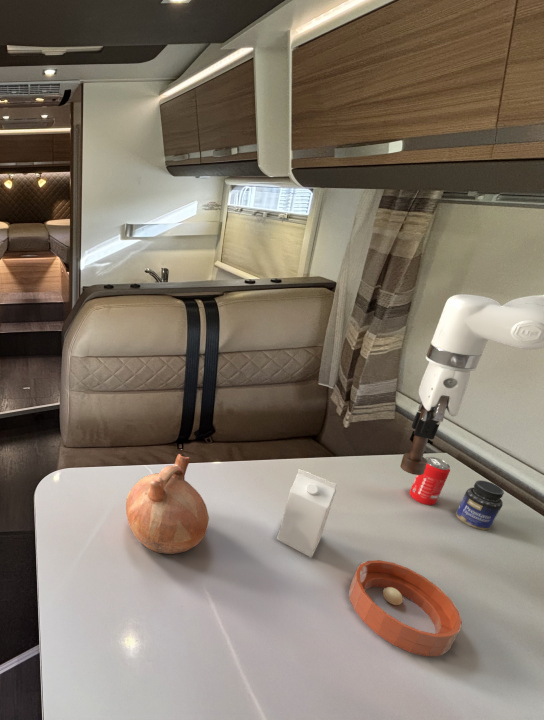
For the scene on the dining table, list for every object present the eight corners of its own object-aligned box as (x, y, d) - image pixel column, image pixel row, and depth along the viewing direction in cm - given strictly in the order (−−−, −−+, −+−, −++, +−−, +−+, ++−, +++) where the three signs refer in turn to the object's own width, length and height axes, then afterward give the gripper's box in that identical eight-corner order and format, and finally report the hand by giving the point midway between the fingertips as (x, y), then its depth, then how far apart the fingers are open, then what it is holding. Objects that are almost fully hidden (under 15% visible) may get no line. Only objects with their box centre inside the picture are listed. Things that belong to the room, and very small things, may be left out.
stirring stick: (424, 468, 95) (441, 409, 90) (423, 477, 92) (441, 417, 87) (400, 461, 98) (416, 404, 93) (399, 470, 95) (416, 412, 90)
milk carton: (285, 524, 103) (303, 461, 96) (319, 541, 98) (340, 476, 91) (275, 541, 99) (293, 476, 91) (310, 560, 94) (332, 493, 87)
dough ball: (381, 593, 86) (400, 598, 85) (383, 605, 84) (403, 610, 82) (382, 581, 85) (401, 586, 84) (384, 593, 83) (404, 598, 81)
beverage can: (416, 506, 108) (432, 468, 104) (403, 492, 113) (418, 455, 108) (439, 509, 107) (457, 470, 103) (425, 494, 112) (441, 457, 107)
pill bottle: (454, 523, 103) (471, 487, 99) (454, 509, 107) (470, 474, 103) (490, 537, 99) (509, 500, 95) (488, 522, 103) (507, 486, 99)
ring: (440, 605, 84) (451, 584, 82) (457, 677, 72) (471, 655, 70) (347, 568, 92) (354, 548, 90) (349, 628, 80) (358, 607, 78)
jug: (175, 585, 89) (187, 511, 81) (107, 533, 101) (112, 465, 94) (217, 537, 100) (232, 468, 92) (152, 495, 113) (160, 432, 105)
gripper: (490, 376, 77) (453, 459, 84) (467, 346, 89) (437, 420, 96) (435, 367, 81) (405, 447, 88) (421, 339, 93) (395, 411, 100)
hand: (422, 432), depth 92 cm, fingers closed on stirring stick, 2 cm apart
